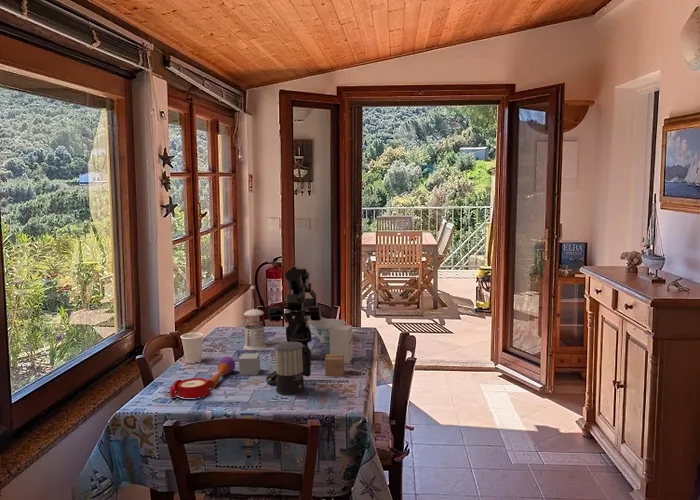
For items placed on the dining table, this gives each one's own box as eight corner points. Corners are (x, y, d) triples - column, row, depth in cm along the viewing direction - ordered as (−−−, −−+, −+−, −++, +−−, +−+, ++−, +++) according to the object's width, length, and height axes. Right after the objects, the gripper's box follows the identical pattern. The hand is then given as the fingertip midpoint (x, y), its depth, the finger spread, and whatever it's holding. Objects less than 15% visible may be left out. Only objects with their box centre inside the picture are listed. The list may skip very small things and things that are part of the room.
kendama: (199, 377, 199) (219, 355, 218) (204, 394, 200) (223, 371, 219) (216, 374, 198) (235, 352, 217) (221, 391, 199) (239, 368, 218)
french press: (272, 344, 251) (269, 284, 248) (253, 351, 241) (250, 289, 239) (254, 342, 256) (251, 283, 254) (234, 348, 247) (231, 287, 244)
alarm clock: (210, 388, 189) (161, 379, 188) (206, 407, 190) (158, 399, 189) (216, 377, 199) (170, 369, 198) (212, 396, 200) (167, 387, 199)
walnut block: (327, 371, 215) (326, 354, 214) (344, 370, 214) (343, 354, 214) (325, 376, 209) (324, 359, 208) (343, 376, 209) (342, 359, 208)
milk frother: (297, 396, 190) (295, 350, 188) (252, 392, 195) (250, 346, 194) (315, 382, 203) (313, 338, 201) (272, 378, 208) (271, 335, 207)
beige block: (243, 370, 218) (242, 353, 218) (260, 370, 218) (259, 353, 217) (239, 375, 212) (238, 358, 212) (256, 375, 212) (256, 358, 211)
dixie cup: (184, 365, 225) (182, 339, 224) (180, 359, 233) (178, 334, 232) (206, 362, 229) (205, 336, 228) (202, 356, 236) (201, 331, 235)
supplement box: (349, 363, 222) (348, 329, 221) (329, 363, 224) (328, 329, 222) (353, 358, 229) (352, 325, 228) (334, 357, 231) (333, 324, 230)
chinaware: (313, 336, 263) (313, 318, 263) (348, 336, 261) (347, 318, 260) (306, 345, 249) (306, 327, 248) (343, 346, 247) (342, 327, 246)
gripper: (267, 285, 221) (263, 322, 211) (319, 284, 220) (316, 321, 210) (272, 302, 230) (268, 338, 220) (321, 301, 229) (319, 338, 219)
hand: (292, 333), depth 217 cm, fingers closed
